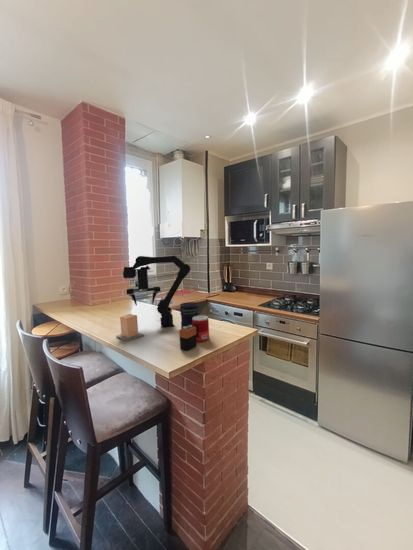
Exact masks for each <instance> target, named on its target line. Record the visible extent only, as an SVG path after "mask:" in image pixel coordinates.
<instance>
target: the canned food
mask: <svg viewBox="0 0 413 550" xmlns="http://www.w3.org/2000/svg"><path fill="white" fill-rule="evenodd" d="M209 323H210V322H209V316H207V315H203V314H201V315H199V316H194V317H193V318H192V325H193V326H194V327H196V340H197V343H205V342H208V341H209V339H210V326H209V325H210V324H209Z"/></svg>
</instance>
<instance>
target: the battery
mask: <svg viewBox="0 0 413 550" xmlns="http://www.w3.org/2000/svg"><path fill="white" fill-rule="evenodd" d="M178 330H179V346H180V350H183V351H186V352H189V351H190V350H192V349H195V348H196V347H197V345H198V342H197V340H196V327H194V326H192V325H188V326H185V327H183V328H180V329H178Z"/></svg>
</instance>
